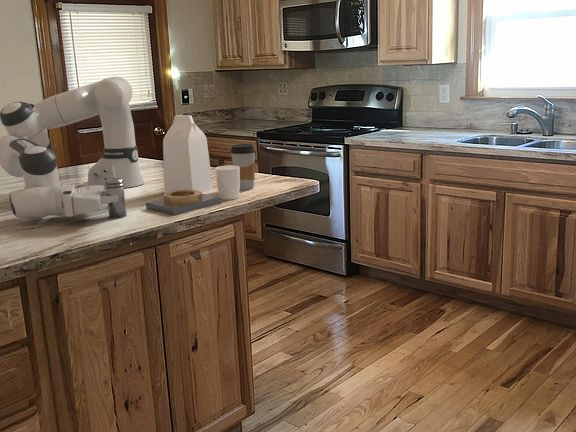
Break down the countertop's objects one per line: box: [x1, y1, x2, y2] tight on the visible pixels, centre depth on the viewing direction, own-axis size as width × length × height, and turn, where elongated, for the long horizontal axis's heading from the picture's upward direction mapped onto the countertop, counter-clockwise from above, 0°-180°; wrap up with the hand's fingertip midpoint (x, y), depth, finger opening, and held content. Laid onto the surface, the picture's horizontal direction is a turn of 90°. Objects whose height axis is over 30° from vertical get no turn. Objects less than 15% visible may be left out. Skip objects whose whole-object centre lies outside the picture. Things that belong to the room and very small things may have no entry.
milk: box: [162, 114, 214, 194], centre depth 210 cm, size 12×12×26 cm
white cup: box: [214, 164, 241, 201], centre depth 200 cm, size 8×8×10 cm
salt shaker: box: [105, 178, 127, 219], centre depth 182 cm, size 5×5×11 cm
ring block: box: [145, 189, 221, 216], centre depth 192 cm, size 18×14×4 cm
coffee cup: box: [230, 143, 256, 191], centre depth 213 cm, size 8×8×15 cm
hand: (118, 195), depth 182 cm, fingers closed on salt shaker, 5 cm apart
